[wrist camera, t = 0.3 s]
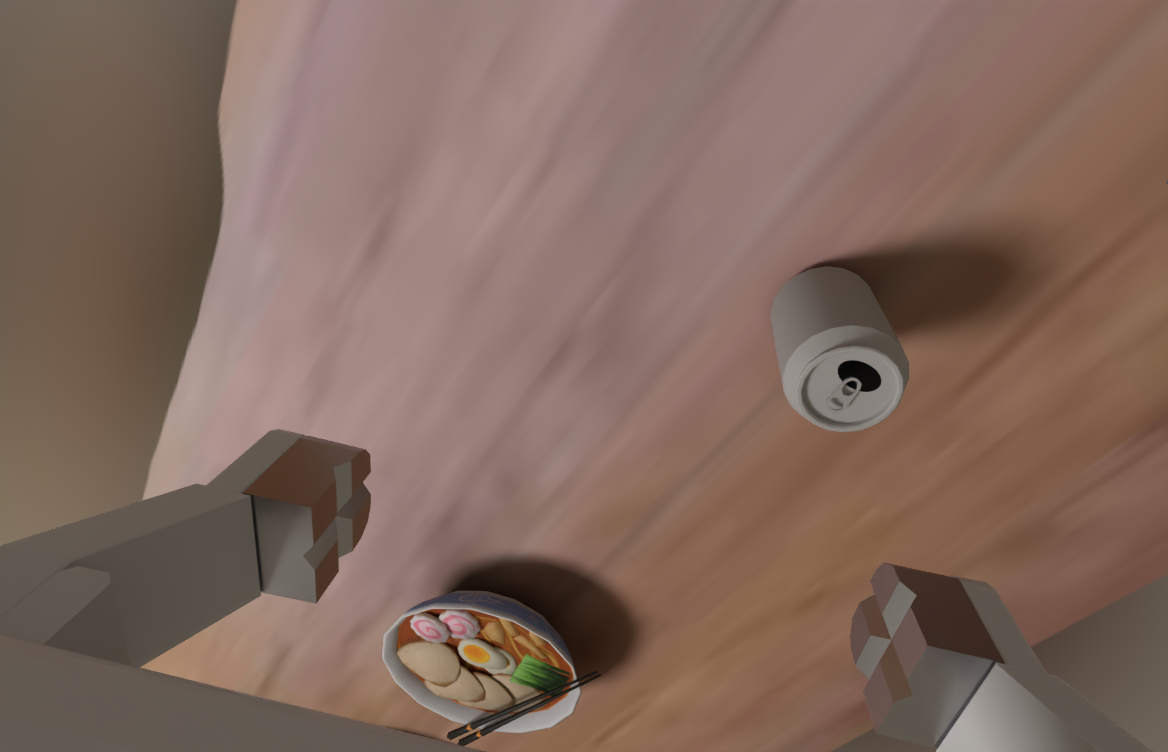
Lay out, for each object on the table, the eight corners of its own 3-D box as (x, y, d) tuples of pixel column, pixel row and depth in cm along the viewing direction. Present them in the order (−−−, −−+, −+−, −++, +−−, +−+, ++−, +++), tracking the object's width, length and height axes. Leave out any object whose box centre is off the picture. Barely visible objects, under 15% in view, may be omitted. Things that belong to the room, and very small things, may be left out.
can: (895, 296, 46) (946, 381, 36) (825, 366, 50) (854, 461, 40) (814, 242, 45) (844, 315, 35) (749, 318, 49) (759, 403, 39)
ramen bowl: (495, 517, 66) (471, 579, 59) (638, 636, 72) (631, 704, 66) (367, 601, 78) (334, 661, 71) (500, 697, 84) (481, 760, 77)
